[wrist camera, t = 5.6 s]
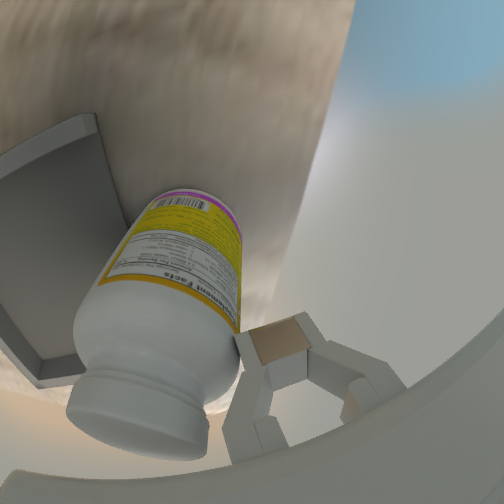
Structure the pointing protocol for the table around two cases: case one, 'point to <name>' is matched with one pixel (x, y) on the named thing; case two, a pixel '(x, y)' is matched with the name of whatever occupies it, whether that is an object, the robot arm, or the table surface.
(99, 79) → the table surface
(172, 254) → the supplement bottle
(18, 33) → the table surface
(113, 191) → the tray
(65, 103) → the table surface
